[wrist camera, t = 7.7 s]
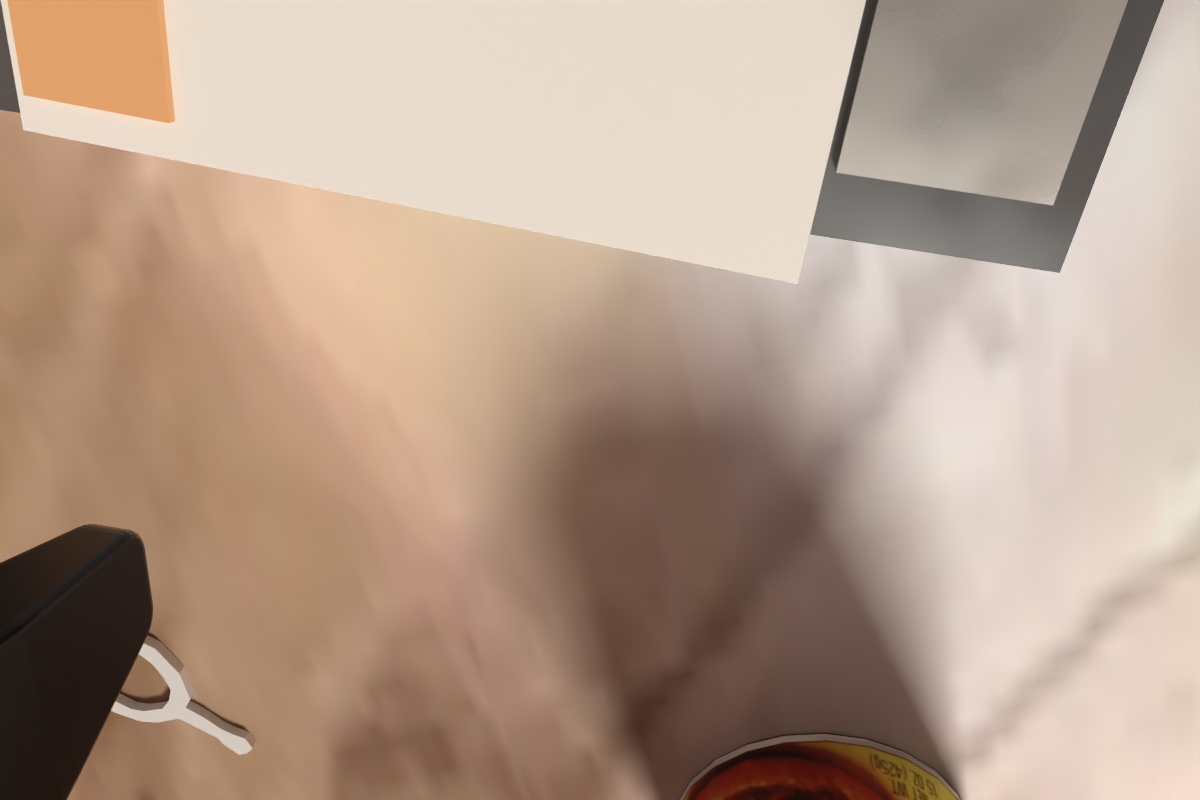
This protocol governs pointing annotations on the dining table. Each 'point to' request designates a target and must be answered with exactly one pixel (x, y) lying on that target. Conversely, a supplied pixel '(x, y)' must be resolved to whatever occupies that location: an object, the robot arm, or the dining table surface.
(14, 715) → the robot arm
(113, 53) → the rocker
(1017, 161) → the breaker box
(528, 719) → the dining table surface
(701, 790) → the canned food
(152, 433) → the dining table surface
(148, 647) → the scissors
